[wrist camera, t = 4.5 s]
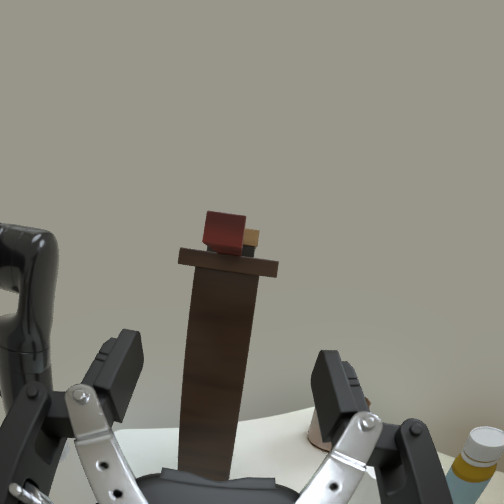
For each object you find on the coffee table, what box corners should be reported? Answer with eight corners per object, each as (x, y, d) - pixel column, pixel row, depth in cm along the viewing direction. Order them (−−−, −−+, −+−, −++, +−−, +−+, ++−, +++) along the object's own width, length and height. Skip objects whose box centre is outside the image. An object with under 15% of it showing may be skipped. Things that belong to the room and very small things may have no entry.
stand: (235, 517, 24) (278, 261, 26) (164, 507, 24) (179, 247, 26) (235, 482, 32) (269, 263, 34) (174, 473, 32) (193, 252, 34)
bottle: (469, 514, 16) (516, 433, 17) (444, 537, 14) (501, 454, 15) (439, 498, 23) (479, 420, 24) (413, 517, 20) (458, 437, 21)
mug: (406, 487, 28) (431, 436, 29) (434, 521, 18) (468, 468, 18) (330, 500, 28) (351, 449, 28) (349, 546, 17) (381, 495, 18)
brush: (267, 251, 16) (273, 202, 16) (177, 239, 16) (186, 190, 16) (252, 260, 35) (255, 237, 35) (211, 255, 35) (214, 232, 35)
